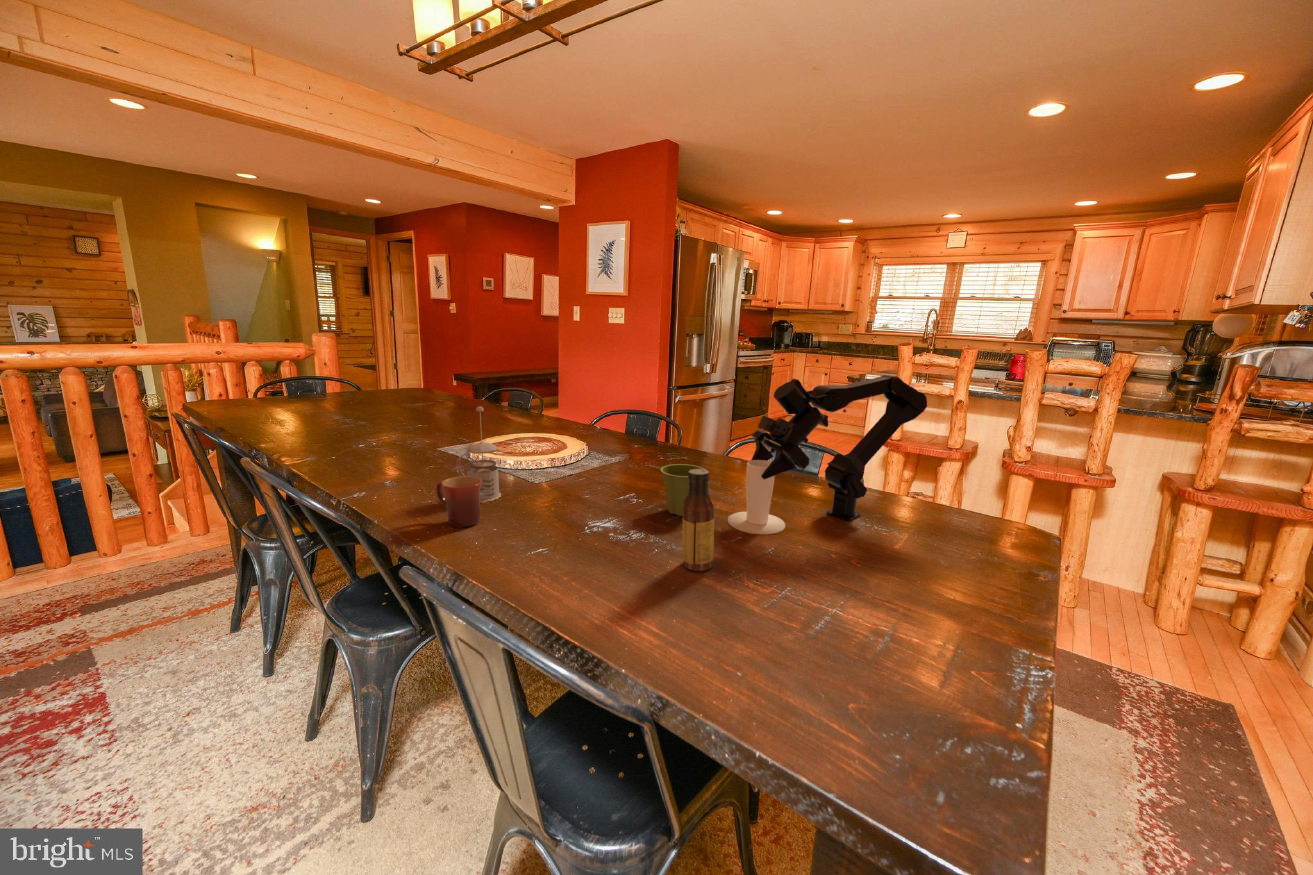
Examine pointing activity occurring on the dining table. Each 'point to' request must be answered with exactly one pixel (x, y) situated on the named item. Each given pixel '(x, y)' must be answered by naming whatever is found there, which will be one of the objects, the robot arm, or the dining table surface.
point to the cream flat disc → (743, 525)
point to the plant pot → (676, 485)
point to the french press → (480, 448)
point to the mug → (461, 500)
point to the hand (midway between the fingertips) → (755, 473)
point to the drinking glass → (758, 492)
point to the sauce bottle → (698, 523)
